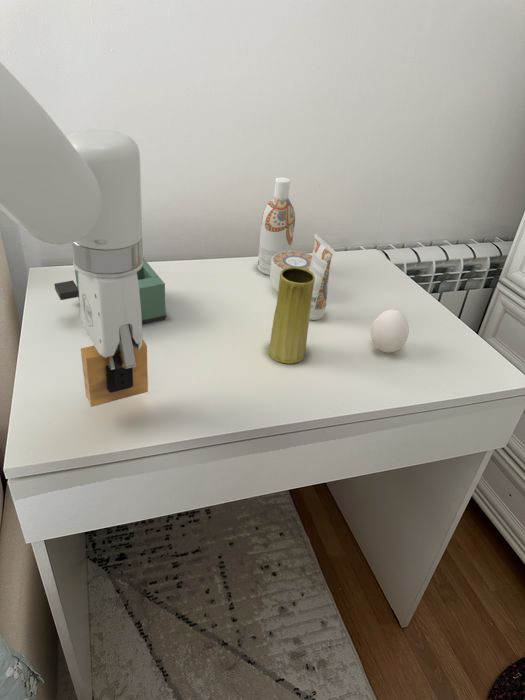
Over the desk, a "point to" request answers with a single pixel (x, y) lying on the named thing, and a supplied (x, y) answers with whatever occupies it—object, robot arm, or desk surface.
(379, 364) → the desk surface
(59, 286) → the dark grey slab
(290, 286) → the vase
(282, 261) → the cosmetic set
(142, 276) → the toaster
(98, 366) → the golden wooden block
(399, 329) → the egg
